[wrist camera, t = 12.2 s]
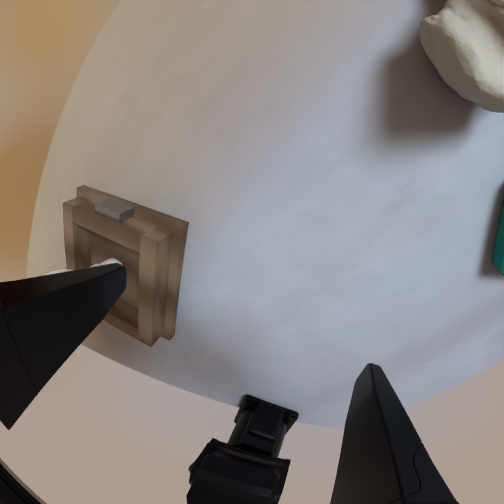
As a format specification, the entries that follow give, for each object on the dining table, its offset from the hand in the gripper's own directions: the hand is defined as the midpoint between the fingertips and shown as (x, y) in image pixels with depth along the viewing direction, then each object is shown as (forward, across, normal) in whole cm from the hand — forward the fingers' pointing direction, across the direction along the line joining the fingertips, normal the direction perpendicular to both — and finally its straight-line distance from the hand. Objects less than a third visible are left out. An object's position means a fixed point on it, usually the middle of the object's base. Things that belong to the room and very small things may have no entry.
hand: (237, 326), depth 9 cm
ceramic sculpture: (+13, -9, -18) cm, 24 cm away
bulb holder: (+13, +15, +10) cm, 22 cm away
